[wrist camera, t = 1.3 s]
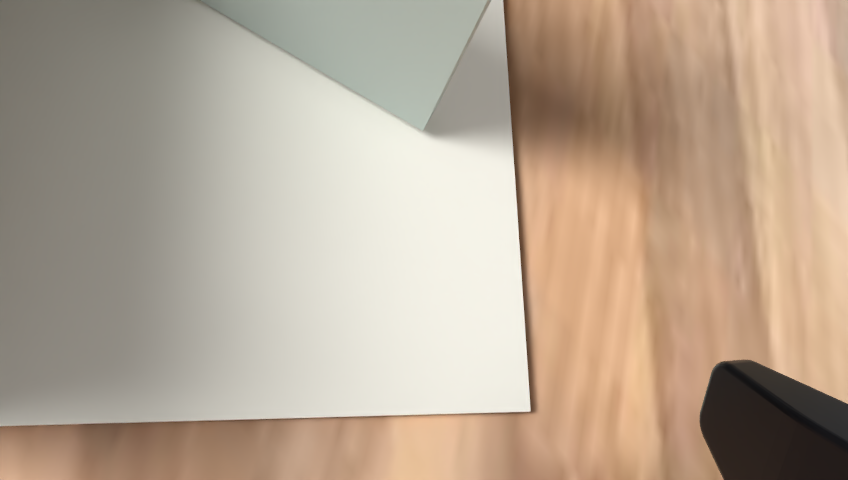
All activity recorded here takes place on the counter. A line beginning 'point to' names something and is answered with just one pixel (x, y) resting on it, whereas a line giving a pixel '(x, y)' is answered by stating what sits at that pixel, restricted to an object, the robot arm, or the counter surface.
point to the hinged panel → (371, 43)
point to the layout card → (245, 227)
